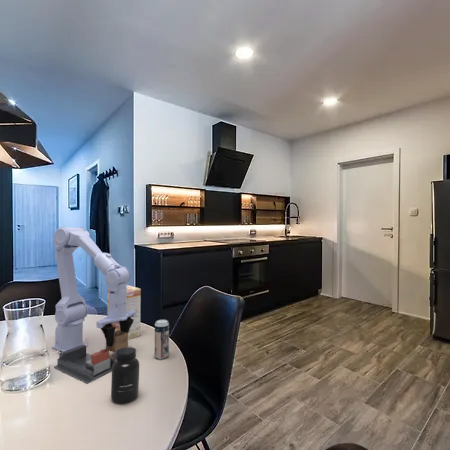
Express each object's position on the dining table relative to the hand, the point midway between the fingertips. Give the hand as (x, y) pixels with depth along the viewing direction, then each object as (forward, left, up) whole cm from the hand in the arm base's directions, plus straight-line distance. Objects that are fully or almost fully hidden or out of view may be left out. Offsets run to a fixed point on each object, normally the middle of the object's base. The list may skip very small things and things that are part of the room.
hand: (116, 342), depth 96 cm
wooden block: (0, 0, -2) cm, 2 cm away
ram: (+4, -10, -4) cm, 11 cm away
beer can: (+13, +8, -5) cm, 16 cm away
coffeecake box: (-15, +15, -5) cm, 22 cm away
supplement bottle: (+21, -14, -5) cm, 26 cm away
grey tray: (-1, -10, -5) cm, 11 cm away
